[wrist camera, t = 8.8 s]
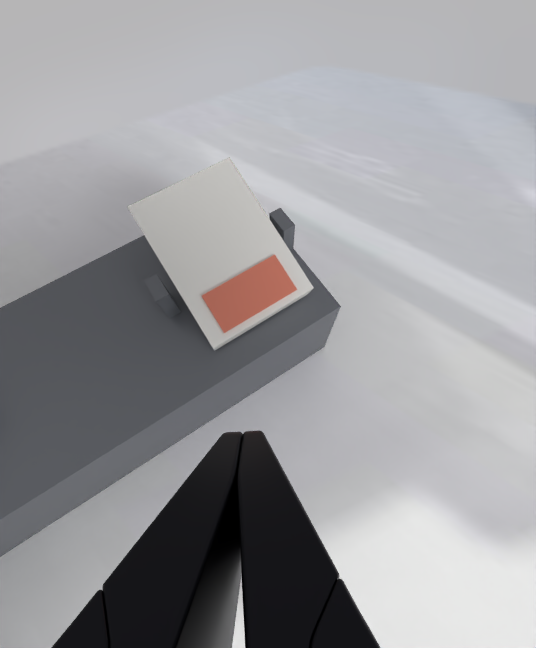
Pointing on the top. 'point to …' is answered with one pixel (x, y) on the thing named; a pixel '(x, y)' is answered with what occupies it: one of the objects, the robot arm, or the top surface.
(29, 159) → the top surface
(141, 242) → the power strip
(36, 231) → the top surface
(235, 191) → the outlet rocker
